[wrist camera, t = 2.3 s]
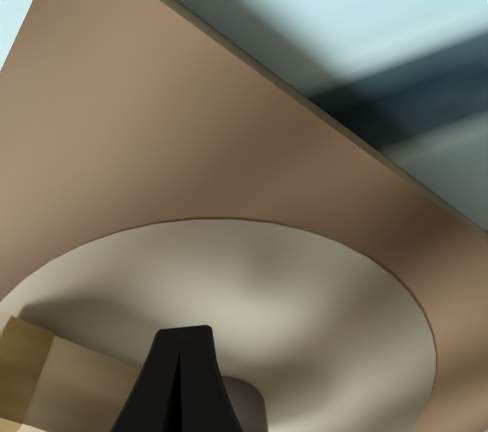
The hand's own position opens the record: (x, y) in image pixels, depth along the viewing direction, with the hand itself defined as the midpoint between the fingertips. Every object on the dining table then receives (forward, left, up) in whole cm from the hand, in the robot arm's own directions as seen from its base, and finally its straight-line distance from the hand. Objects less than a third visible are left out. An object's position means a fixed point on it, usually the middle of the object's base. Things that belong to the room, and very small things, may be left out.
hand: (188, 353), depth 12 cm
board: (-4, +5, -4) cm, 7 cm away
